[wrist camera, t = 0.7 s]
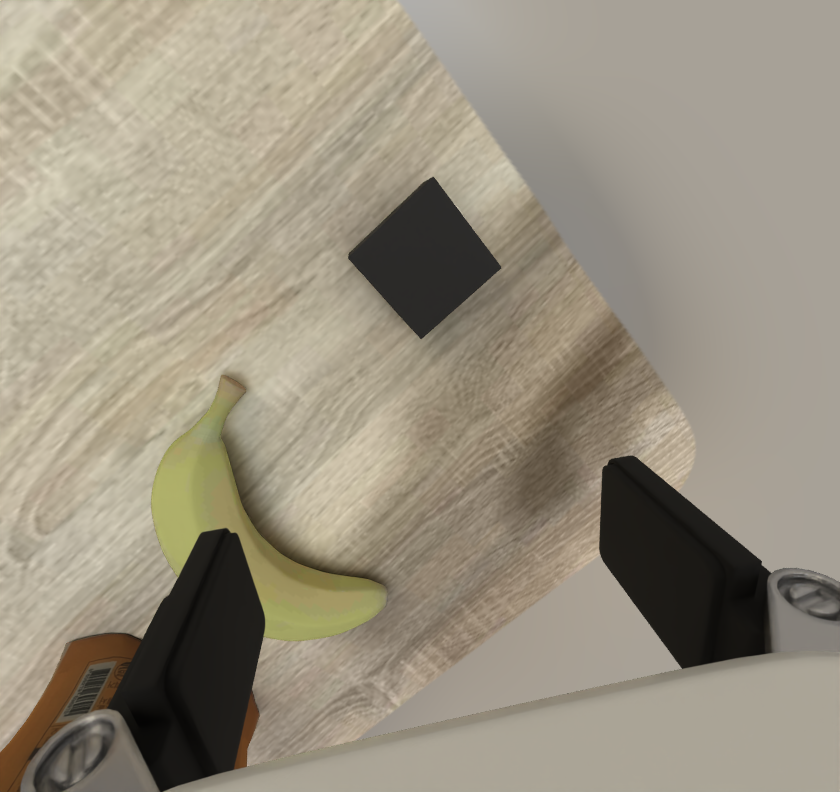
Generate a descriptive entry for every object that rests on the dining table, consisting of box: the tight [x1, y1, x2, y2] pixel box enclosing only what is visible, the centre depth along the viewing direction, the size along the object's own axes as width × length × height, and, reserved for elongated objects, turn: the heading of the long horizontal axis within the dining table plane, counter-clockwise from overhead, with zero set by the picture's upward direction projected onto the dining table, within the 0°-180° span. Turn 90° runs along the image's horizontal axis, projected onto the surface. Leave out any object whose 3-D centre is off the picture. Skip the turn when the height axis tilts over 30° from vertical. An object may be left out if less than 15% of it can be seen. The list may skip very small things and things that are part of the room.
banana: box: [151, 375, 388, 641], centre depth 30 cm, size 14×6×20 cm
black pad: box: [348, 177, 501, 339], centre depth 26 cm, size 6×6×3 cm
